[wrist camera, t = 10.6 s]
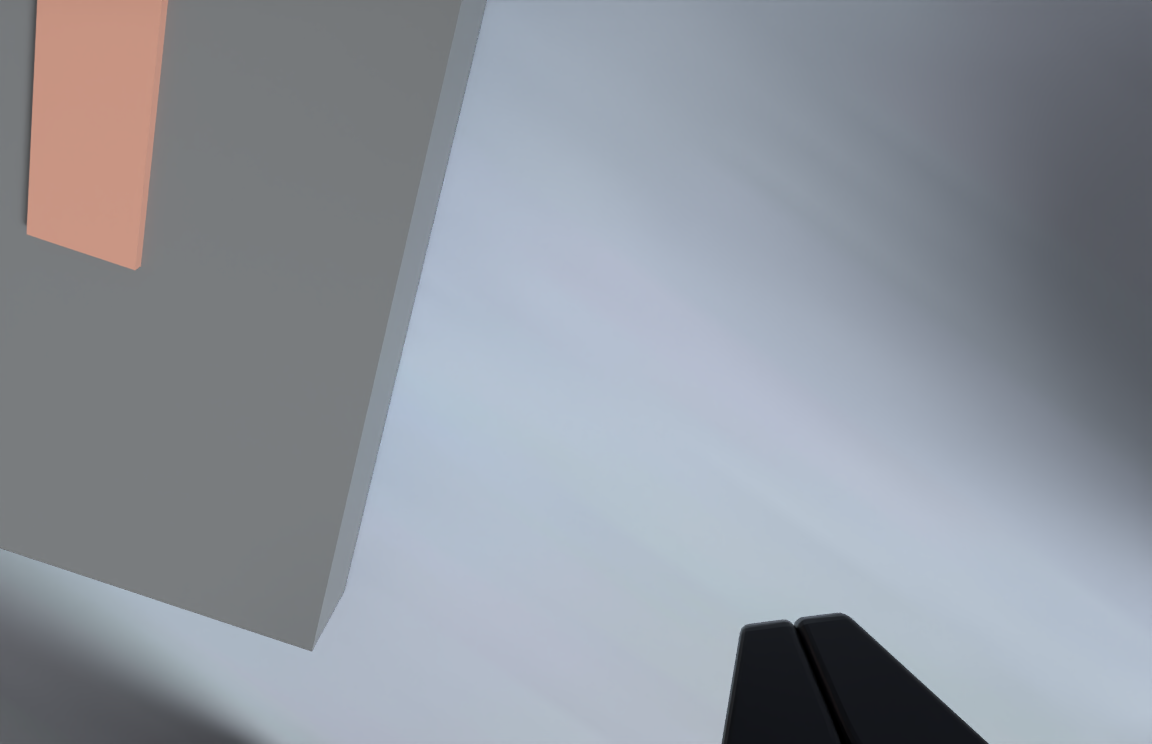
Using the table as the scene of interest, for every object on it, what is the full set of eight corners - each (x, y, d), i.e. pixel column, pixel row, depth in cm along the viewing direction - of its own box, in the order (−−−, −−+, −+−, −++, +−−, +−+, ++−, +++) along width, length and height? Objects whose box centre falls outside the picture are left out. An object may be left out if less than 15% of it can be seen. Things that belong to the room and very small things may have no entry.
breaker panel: (602, -479, 15) (567, -558, 12) (344, 592, 24) (290, 691, 21) (-354, -800, 15) (-619, -956, 12) (-244, 397, 24) (-377, 471, 21)
